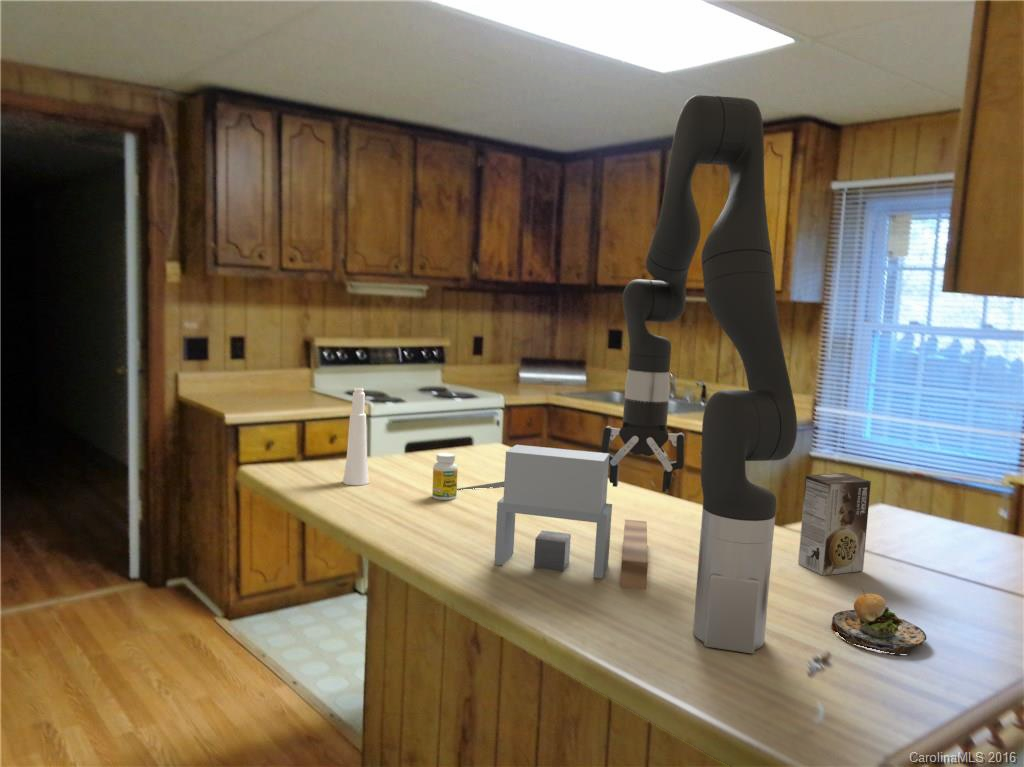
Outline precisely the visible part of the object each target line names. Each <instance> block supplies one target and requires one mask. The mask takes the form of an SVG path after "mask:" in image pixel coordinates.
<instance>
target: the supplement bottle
mask: <svg viewBox="0 0 1024 767" xmlns="http://www.w3.org/2000/svg"><path fill="white" fill-rule="evenodd" d="M436 461H437V462H436V463H434V464H433V467H432V497H433V499H435V500H439V501H451V500H452V501H453V500H455V499H456V497H457V494H458V493H457V491H458V490H457V489H458V465H457V464H456V463H455V461H456V454H454V453H450V452H440V453H436Z"/></svg>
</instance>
